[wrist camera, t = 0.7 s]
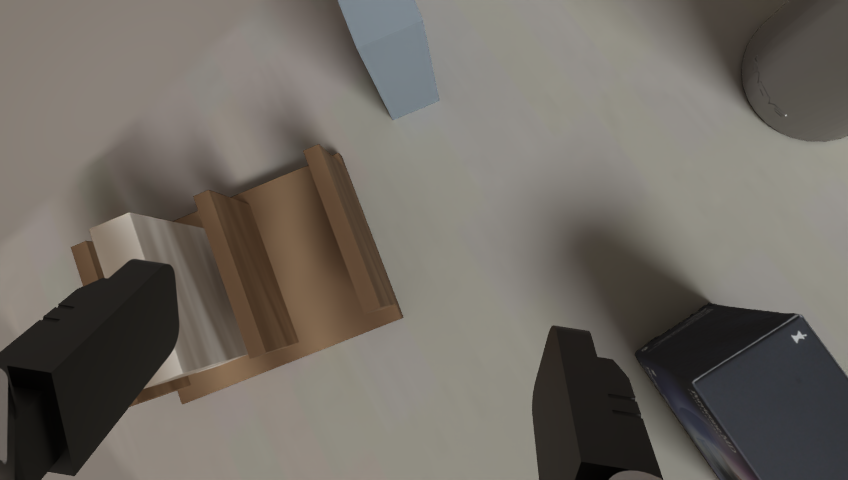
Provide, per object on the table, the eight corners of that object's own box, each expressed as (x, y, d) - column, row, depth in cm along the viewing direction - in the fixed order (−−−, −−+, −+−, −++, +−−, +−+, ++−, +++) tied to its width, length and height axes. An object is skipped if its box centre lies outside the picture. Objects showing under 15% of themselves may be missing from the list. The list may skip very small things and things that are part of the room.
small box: (625, 354, 37) (684, 381, 27) (710, 299, 37) (803, 304, 26) (725, 498, 36) (827, 585, 25) (814, 441, 36) (953, 505, 25)
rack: (341, 156, 40) (296, 112, 30) (403, 317, 38) (377, 328, 29) (136, 240, 41) (25, 226, 31) (189, 401, 39) (92, 440, 29)
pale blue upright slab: (398, -1, 40) (364, -121, 28) (439, 100, 40) (422, 20, 28) (352, 19, 41) (301, -93, 29) (392, 120, 40) (356, 48, 28)
